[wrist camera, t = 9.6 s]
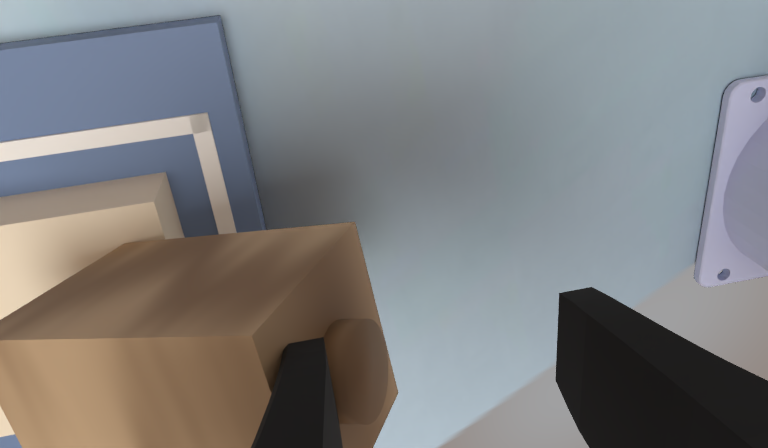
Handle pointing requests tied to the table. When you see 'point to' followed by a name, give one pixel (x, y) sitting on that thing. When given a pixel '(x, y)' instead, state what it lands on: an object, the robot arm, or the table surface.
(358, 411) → the oak block
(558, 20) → the table surface
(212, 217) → the blueprint board
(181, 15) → the table surface
